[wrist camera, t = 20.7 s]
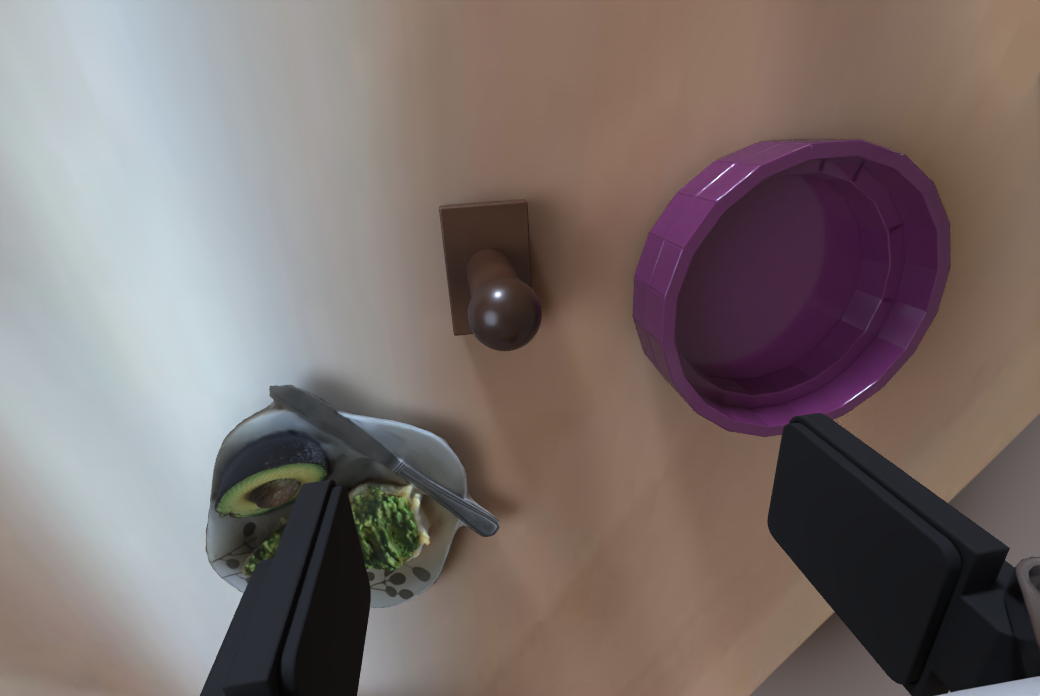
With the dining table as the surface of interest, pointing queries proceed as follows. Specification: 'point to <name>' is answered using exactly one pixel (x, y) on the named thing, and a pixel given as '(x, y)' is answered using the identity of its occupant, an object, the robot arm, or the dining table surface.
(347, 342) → the dining table surface
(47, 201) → the dining table surface
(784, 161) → the bowl
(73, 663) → the dining table surface
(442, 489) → the salad plate
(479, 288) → the wall coat peg
